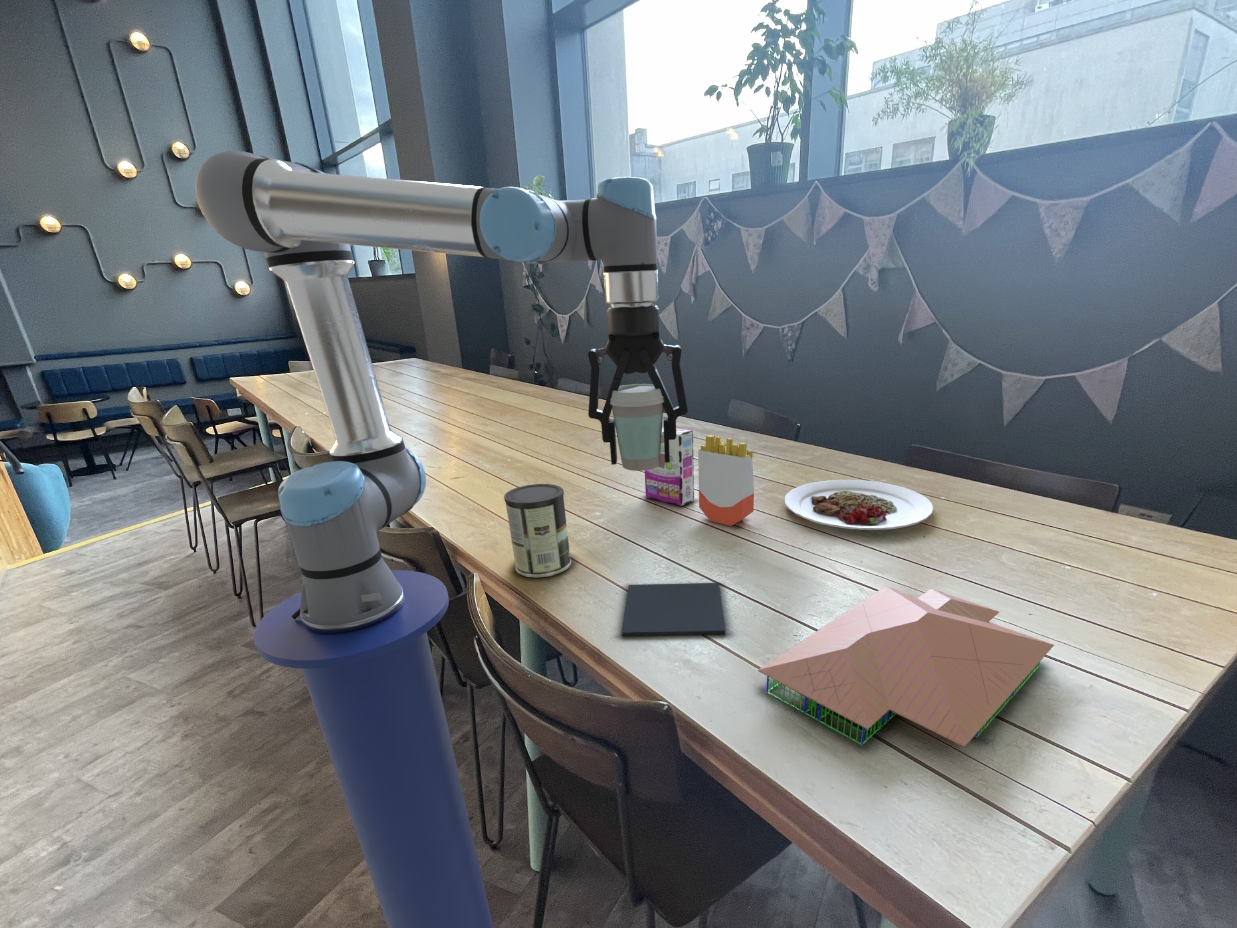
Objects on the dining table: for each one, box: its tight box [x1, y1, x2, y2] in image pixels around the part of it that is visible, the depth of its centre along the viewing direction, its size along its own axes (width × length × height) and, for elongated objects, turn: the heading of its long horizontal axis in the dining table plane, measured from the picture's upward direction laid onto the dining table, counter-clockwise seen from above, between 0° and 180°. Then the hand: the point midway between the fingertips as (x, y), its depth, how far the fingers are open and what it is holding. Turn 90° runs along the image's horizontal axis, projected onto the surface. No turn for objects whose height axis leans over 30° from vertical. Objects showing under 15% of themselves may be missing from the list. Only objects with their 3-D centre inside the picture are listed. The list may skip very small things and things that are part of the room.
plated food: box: [784, 479, 934, 531], centre depth 131 cm, size 30×30×3 cm
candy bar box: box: [644, 425, 695, 507], centre depth 139 cm, size 11×5×16 cm, turn 49°
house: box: [757, 585, 1055, 748], centre depth 76 cm, size 23×33×8 cm
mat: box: [621, 582, 726, 637], centre depth 96 cm, size 15×15×1 cm
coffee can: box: [503, 483, 572, 579], centre depth 109 cm, size 10×10×14 cm
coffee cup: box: [610, 383, 664, 472], centre depth 94 cm, size 8×8×12 cm
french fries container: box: [697, 434, 755, 527], centre depth 125 cm, size 5×11×18 cm, turn 50°
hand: (640, 460), depth 96 cm, fingers closed on coffee cup, 8 cm apart
